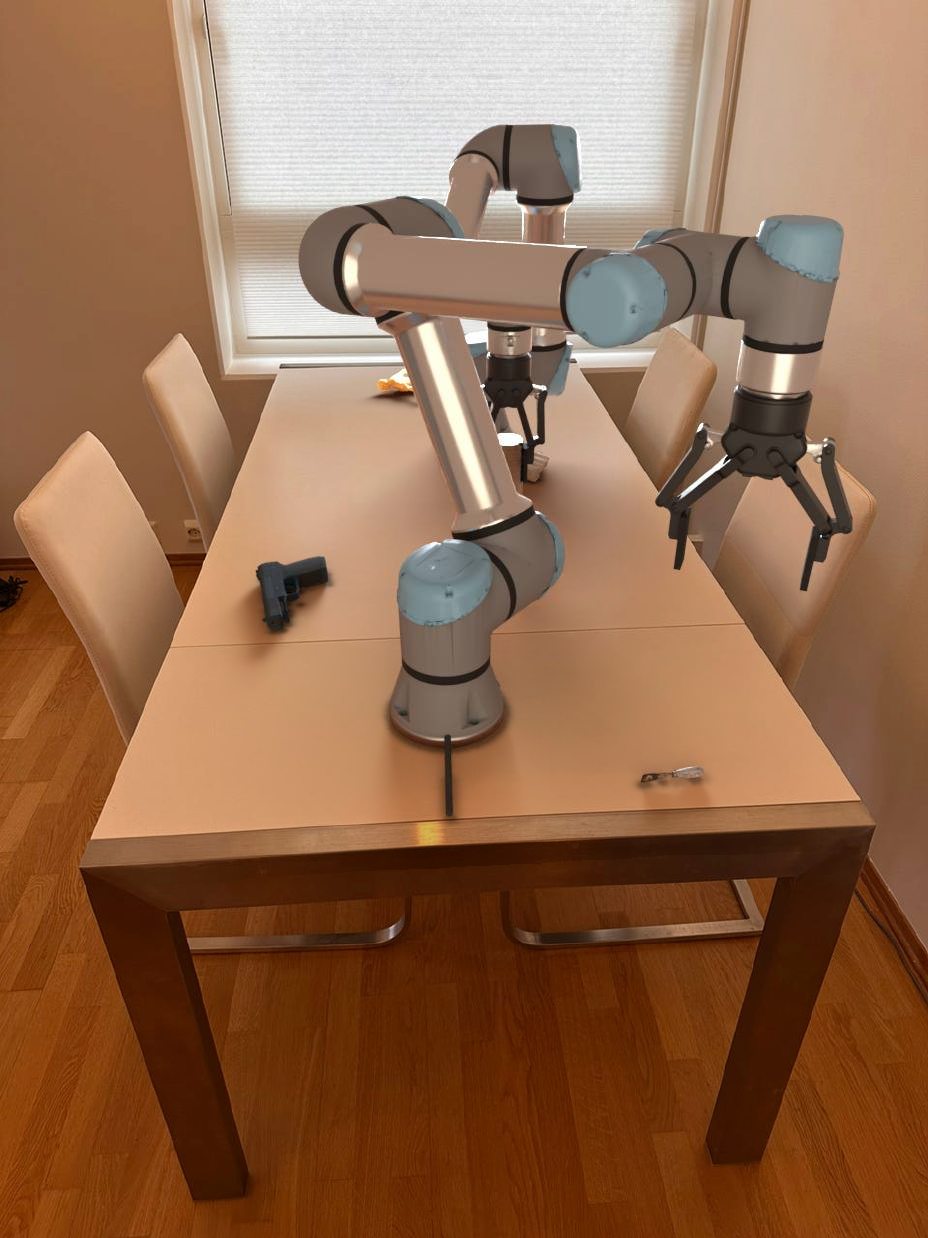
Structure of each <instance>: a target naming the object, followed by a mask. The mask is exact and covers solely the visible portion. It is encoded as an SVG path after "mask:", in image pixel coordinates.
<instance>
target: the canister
mask: <svg viewBox="0 0 928 1238" xmlns="http://www.w3.org/2000/svg"><path fill="white" fill-rule="evenodd" d="M498 437H499V440H500V443H501V446H502V449H503V452H504V455H505V458H506V461H507V464H508V467H509V470H510V473H511V476H512V479H513V482H514V485H515V488H516V491H517V492H518V493H519V494H520V495H522V496H523V448H524V443H525V438H524V437H523V436H522V435H519V434H515V433H511V434H499V435H498Z"/></svg>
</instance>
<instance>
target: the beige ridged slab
mask: <svg viewBox="0 0 928 1238" xmlns="http://www.w3.org/2000/svg"><path fill="white" fill-rule="evenodd" d="M549 461H550V456H549V455H547V454H545V453H543V451H542V450H540V451H537V450H534V462H533V464H528V468H527V481H529V482H533V483H534V482H537V480H539V478H540V476H541V472H542V471H544V469H545V468H547V466H548V463H549Z"/></svg>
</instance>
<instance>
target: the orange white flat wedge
mask: <svg viewBox="0 0 928 1238" xmlns="http://www.w3.org/2000/svg"><path fill="white" fill-rule="evenodd" d="M404 375H407V372H406V369H405V367H403V369H402V370H401V369H400V370H399V372H398V373H395V374H394V375H391V377H390V378H388V379H383V378H382V379H379V380H378V381H377V389H378V390H380V391H384V392H386V391H390V390H391V387H393V388H395V389H396V390H397V391H400V392H408V391H409V392H413V389H412V386H411V384H410V381H409V378H408V376H407V377H406V376H404Z"/></svg>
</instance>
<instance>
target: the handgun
mask: <svg viewBox="0 0 928 1238" xmlns="http://www.w3.org/2000/svg"><path fill="white" fill-rule="evenodd" d="M255 576H256V579H257V581H259V586H260V591H261V592H260V593H261V598H262V599H261V600H262V605H263V610H264V615H265V617H264V618H262V619H261V622H262V623H266V627H267V628H268V629H270V630H271V631H277V630H283V628H284V626H285V623H284V622H285V621H286V623H287V624H289V623H290V613H289V607H288V603H291V602H295V601H298V600H300V590H302V589H306V588H309V587H314V586H317V585H320V584H323V583H328V582H329V575H328V567H327V562H326V557H325V556H321V555H319V556H318V555H317V556H314V557H313V556H312V557H307V558H304V559H300V560H297V561H294V562H291V563H288V564H283V563H280V562H279V561H267V562H263V563H261V564H259V565H257V569H256V570H255ZM290 592H293V593H290Z"/></svg>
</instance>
